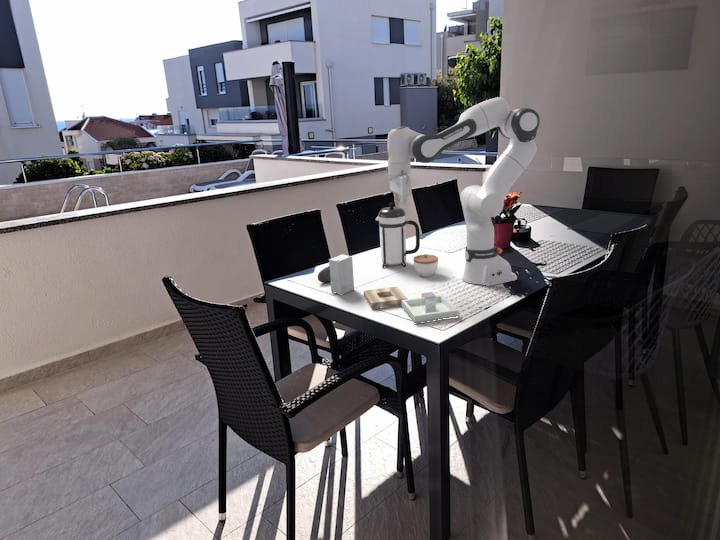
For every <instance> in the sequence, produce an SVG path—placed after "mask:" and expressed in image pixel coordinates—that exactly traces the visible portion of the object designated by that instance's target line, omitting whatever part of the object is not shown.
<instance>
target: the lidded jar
mask: <svg viewBox="0 0 720 540" xmlns="http://www.w3.org/2000/svg"><path fill="white" fill-rule="evenodd" d="M438 262H439V257H438V256H436V255H434V254H427V253H425V254H418V255H416V256H414V257H413V266H414V270H415V272H416V273H417V274H418V275H419V276H420V277H423V278H427V277H432V276H434V274H435V273H436V271H437V269H438V266H439V264H438Z"/></svg>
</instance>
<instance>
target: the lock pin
mask: <svg viewBox="0 0 720 540" xmlns="http://www.w3.org/2000/svg"><path fill="white" fill-rule="evenodd" d="M421 297H422V310H423V311H424V312H425V313H428V312H435V311H436V294H435V293H434V292H432V291H429V292H423V293H421Z"/></svg>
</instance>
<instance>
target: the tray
mask: <svg viewBox="0 0 720 540" xmlns="http://www.w3.org/2000/svg"><path fill="white" fill-rule="evenodd" d="M435 295H436V294H435ZM402 308H403V309H404V310H403V309H402ZM401 309H402V310H403V311H404V313H405V312H406V313H407V314H408V315H407V314H406V313H405V314H406V315H407V317H408V318H409V317H410V318H411V319H412V320H411V319H410V318H409V319H410V320H411V322H412V321H413V322H414V323H421V322H427V321H433V320H438V319H443V318H449V317H456V316H458V317H459V314H460V313H459V309H458V308H457V307H456V306H455V305H454V304H452V303H451V302H450V300H449V299H447V297H445V296H444V295H443V294H437V295H436V311H435V312H428V313H425V312H424V311H423V310H422V296H421V297H415V298H414V297H413V298H408V299H406V300H401ZM413 322H412V323H413ZM414 323H413V324H414ZM421 324H422V323H421Z"/></svg>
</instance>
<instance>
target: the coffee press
mask: <svg viewBox="0 0 720 540" xmlns="http://www.w3.org/2000/svg"><path fill="white" fill-rule="evenodd" d="M406 213H407V212H406V211H405V210H404V209H403V207H399V206H395V203H394V202H392V201H391V202H389V204H388V206H386V207H383V208H381V209H380V210H379V212H378V214H377V217H376V218H375V221H378V227H379V241H380V242H379V243H380V246H379V247H380V260H381V262H382V265H381V266H382V268H384V269H386V268H387V267H388V266H389V265H391V266H393V265H395V266H396V265H401V266H402V268H406V267H407V263H406V260H407V255H413V254H415V253H417V252H418V251H419V249H420V246H421V243H420V239H421V238H420V237H421V236H420V234H421V233H420V227H419V224H418V223H417V222H416V221H415V220H411V219H409V220H406V215H407V214H406ZM406 225H412V226H413V227H414V229H415V247H414V248H413V249H409V250H408V249H407V244H406V243H407V241H406V240H407V239H406Z"/></svg>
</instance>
